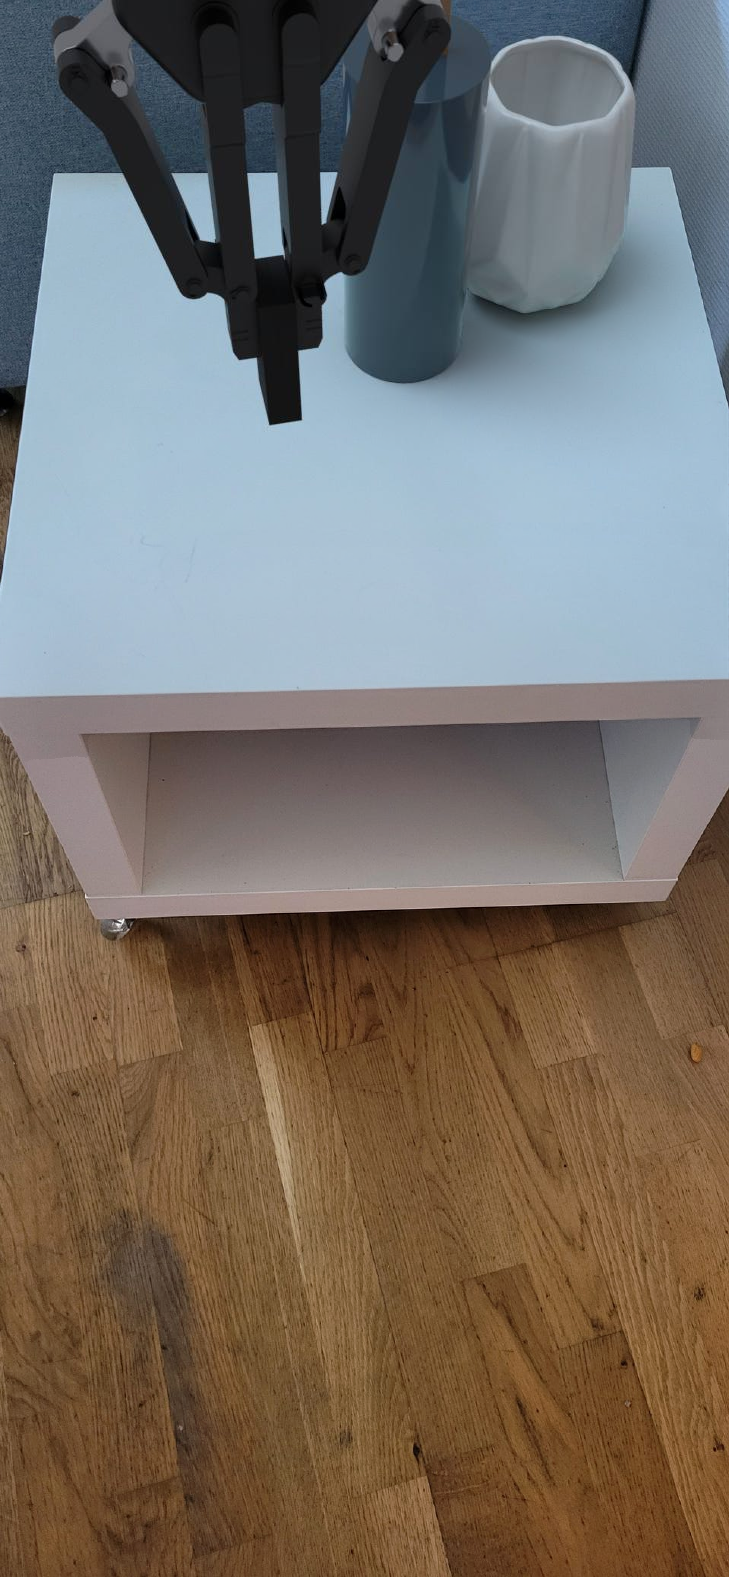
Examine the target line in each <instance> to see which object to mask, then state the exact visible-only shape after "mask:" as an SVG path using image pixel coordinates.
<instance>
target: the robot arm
mask: <svg viewBox="0 0 729 1577" xmlns="http://www.w3.org/2000/svg"><path fill="white" fill-rule="evenodd" d="M366 19H368V21H367V28H368V32H369V35H370V38H371V40H370V42H369V46H368V49H367V52H366V56H365V60H364V64H363V68H362V72H361V76H360V80H359V85H358V89H357V93H356V97H355V101H354V105H353V110H352V114H351V118H350V122H349V126H348V130H347V135H346V139H345V143H344V147H343V146H342V152H341V156H340V160H339V164H338V168H337V173H336V177H335V181H334V186H333V190H332V193H331V198H330V202H329V206H328V210H327V215H326V219H325V222H324V223H323V222H322V221H323V216H322V185H321V184H322V183H321V154H320V134H321V133H322V100H321V99H322V98H321V95H322V94H321V87H322V86H323V85H324V84H325V83H326V81H328V79H329V78H330V76H331V75H332V73H333V72H334V70H335V68H336V67H337V65H338V64H339V62H340V61H341V60H342V56H343V55H344V53H345V51H346V50H347V48H348V47H349V45H350V44H351V42H352V41H353V39H354V38H355V36H356V34H357V33H358V31H359V30H360V28H361V27H362V25H363V24H364V22H365V20H366ZM50 35H51V41H52V47H53V48H52V49H53V56H54V61H55V68H56V74H57V79H58V85H59V89H60V90H61V92H62V93H63V94H64V96H65V97H66V98H67V99H68V100H69V101H71V103H72V104H73V105H74V106H75V107H76V108H77V109H78V110H79V111H80V112H82V114H83V115H85V116H86V118H87V119H88V120H90V121H91V122H92V123H93V125H95V127H96V128H98V130H100V131H101V132H102V134H103V136H104V138H105V140H106V142H107V144H108V146H109V148H110V151H111V152H112V155H113V157H114V158H115V161H116V164H117V165H118V167H119V169H120V171H121V173H122V175H123V177H124V179H125V182H126V184H127V186H128V188H129V190H130V192H131V194H132V196H133V198H134V200H135V202H136V205H137V207H138V208H139V211H140V212H141V215H142V218H143V219H144V221H145V223H146V225H147V227H148V230H149V231H150V234H151V235H152V237H153V239H154V243H155V244H156V246H157V248H158V250H159V251H160V254H161V257H162V259H163V260H164V262H165V264H166V267H167V268H168V271H169V273H170V275H171V277H172V280H173V281H174V283H175V285H176V287H177V289H178V291H179V293H180V294H181V295H182V296H183V297H184V298H186V299H188V300H200V299H202V298H203V297H206V295H207V294H212V295H216V296H218V297H220V298H222V299H223V301H224V302H223V303H224V309H225V318H226V325H227V326H226V328H227V331H228V336H229V340H230V345H231V349H232V353H233V354H234V356H235V357H236V359H237V360H238V361H244V360H251V359H256V366H257V377H258V382H259V388H260V393H261V396H262V401H263V405H264V410H265V413H266V417H267V422H268V426H276V425H282V424H287V423H288V424H289V423H294V422H302V421H303V409H302V393H301V392H302V391H301V390H302V389H301V375H300V374H301V372H300V356H299V351H306V350H307V351H308V350H313V349H319V347H320V345H321V343H322V340H323V338H324V329H323V305H325V303H326V301H327V299H328V293H327V289H326V285H325V283H326V282H327V281H328V280H329V279H330V278H332V277H333V276H335V275H337V274H340V273H342V274H343V276H344V275H348V276H353V275H357V274H360V273H361V272H363V271H364V270H365V269H366V267H367V265H368V262H369V259H370V256H371V252H372V249H373V245H374V242H375V238H376V235H377V231H378V228H379V224H380V221H381V217H382V214H383V210H384V207H385V203H386V200H387V196H388V193H389V189H390V186H391V182H392V179H393V175H394V172H395V168H396V165H397V161H398V158H399V154H400V151H401V147H402V144H403V140H404V137H405V133H406V130H407V126H408V123H409V119H410V116H411V112H412V109H413V105H414V102H415V99H416V95H417V92H418V90H419V88H420V87H421V85H422V84H423V82H424V80H425V79H426V77H427V76H428V74H429V73H430V71H431V70H432V68H433V67H434V65H435V64H436V62H437V61H438V59H439V58H440V56H441V55H442V53H443V52H444V50H445V49H446V47H447V46H448V44H449V41H450V39H451V28H450V26H449V23H448V20H447V18H446V15H445V12H444V10H443V7H442V5H441V2H440V0H102V1H101V2H100V3H98V4H97V5H96V6H95V7H94V8H93V9H92V10H91V11H89V13H88V14H86V16H84V17H83V18H82V19H81V18H79V17H77V16H73V15H62V16H60V17H59V18H57V19H56V20H54V22H53V24H52V26H51V32H50ZM133 41H135V43H137V44H138V46H139V47H140V48H141V49H142V50H143V51H144V52H145V53H146V54H147V55H148V56H149V57H150V58H151V59H152V60H153V61H154V62H155V63H156V64H157V65H158V66H159V67H160V68H161V69H162V70H163V72H165V73H166V75H167V76H168V77H169V78H170V79H171V80H172V81H173V82H174V83H175V84H176V85H177V86H178V87H179V88H180V89H181V90H182V91H183V92H184V93H185V94H186V95H187V96H188V97H189V98H191V99H192V100H194V101H195V102H197V103H198V108H199V115H200V121H201V122H200V123H201V130H202V140H203V146H204V148H203V149H204V155H205V163H206V172H207V180H208V188H209V197H210V203H211V212H212V221H213V229H214V236H215V238H214V242H213V241H208V240H202V239H201V237H200V235H199V233H198V230H197V228H196V225H195V224H194V221H193V219H192V216H191V214H190V212H189V210H188V208H187V205H186V203H185V201H184V199H183V196H182V194H181V192H180V189H179V187H178V185H177V183H176V180H175V177H174V175H173V173H172V171H171V169H170V166H169V164H168V162H167V160H166V158H165V155H164V153H163V151H162V148H161V146H160V143H159V141H158V139H157V137H156V135H155V132H154V130H153V128H152V125H151V123H150V120H149V118H148V116H147V114H146V112H145V109H144V107H143V104H142V102H141V99H140V97H139V95H138V93H137V91H136V88H135V87H134V84H135V82H136V78H137V74H136V68H135V63H134V58H133V52H132V50H131V48H130V46H131V44H132V42H133ZM261 103H262V104H263V103H265V104H271V105H272V114H273V115H272V116H273V130H274V143H275V144H274V145H275V146H274V147H275V161H276V174H277V175H276V176H277V188H278V205H279V218H280V233H281V234H280V235H281V245H282V248H283V252H284V254H279V255H272V256H265V257H258V258H257V257H256V256H255V245H254V233H253V232H254V231H253V222H252V208H251V200H250V199H251V198H250V188H249V187H250V186H249V177H248V165H247V153H246V152H247V151H246V144H247V133H246V121H245V111H244V110H245V109H247V108H250V107H252V106H255V105H258V104H261Z"/></svg>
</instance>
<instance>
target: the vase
mask: <svg viewBox="0 0 729 1577" xmlns="http://www.w3.org/2000/svg"><path fill="white" fill-rule="evenodd" d="M635 122H636V97H635V91H634V88H633V85H632V83H631V80H630V78H629V76H628V74H627V73H626V72H625V71H624V68H623V66H622V64H621V63H620V61H619V60H618V59H617V58H616V57H615V56H614V55H612V54H611V53H610V52H608V51H606V50H604V49H602V48H600V47H598V46H597V45H594V44H592V43H587V42H584V41H583V40H580V39H577V38H573V37H569V36H563V35H543V36H538V37H535V38H526V39H523V40H522V39H521V40H520V41H518V42H514V43H511V44H509V45H507V46H505V47H503V48H502V49H500V50H499V51H498V52H497V53H496V55H494V58H492V64H491V73H490V82H489V91H488V100H487V109H486V118H485V127H484V136H483V145H482V154H481V162H480V171H479V180H478V189H477V198H476V207H475V216H474V225H473V234H472V243H471V252H470V261H469V270H468V279H467V288H468V290H469V292H470V293H472V294H473V295H475V296H478V297H480V298H482V299H484V300H487V301H489V302H491V303H495V305H499V306H503V307H504V308H506V309H509V310H512V311H515V312H518V313H521V314H529V313H536V312H540V311H541V312H542V311H544V310H553V309H556V308H559V307H564V306H568V305H573V304H576V303H579V302H581V301H582V300H584V298H586V296H588V294H589V293H591V292H592V291H593V289H594V288H596V286H597V283H598V282H600V281H601V280H603V278H604V277H605V275H606V273H607V271H608V268H609V267H610V265H611V263H612V261H613V259H614V256H615V255H616V254H617V252H618V251H619V250H620V248H621V247H622V244H623V243H624V240H625V236H626V227H627V221H628V214H629V204H630V194H631V193H630V192H631V181H632V180H631V179H632V166H633V165H632V163H633V153H634V152H633V151H634V139H635V124H636V123H635Z"/></svg>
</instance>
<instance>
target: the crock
mask: <svg viewBox="0 0 729 1577" xmlns="http://www.w3.org/2000/svg"><path fill="white" fill-rule="evenodd" d="M452 1H453V0H440V2H441V5H442V7H443V10H444V12H445V15H446V18H447V20H448V23H449V26H450V28H451V39H450V41H449V44H448V46H447V47H446V49H445V50H444V52H443V53H442V55H441V56H440V58H439V59H438V61H437V62H436V64H435V65H434V67H433V68H432V70H431V71H430V73H429V74H428V76H427V77H426V79H425V80H424V82H423V84H422V85H421V87H420V88H419V90H418V92H417V95H416V99H415V102H414V105H413V109H412V112H411V116H410V119H409V123H408V126H407V130H406V133H405V137H404V140H403V144H402V147H401V151H400V154H399V158H398V161H397V165H396V168H395V172H394V175H393V179H392V182H391V186H390V189H389V193H388V196H387V200H386V203H385V207H384V210H383V214H382V217H381V221H380V224H379V228H378V231H377V235H376V238H375V242H374V245H373V249H372V252H371V256H370V259H369V262H368V265H367V267H366V269H365V270H364V271H363V272H361V273H360V274H357V275H353V276H348V275H344V274H343V341H344V347H345V350H346V352H347V354H348V357H349V358H350V359H351V360H352V362H353V363H354V364H355V365H356V366H357V367H358V368H359V369H360V370H362V371H363V372H364V373H366V374H368V375H369V376H371V377H374V378H377V379H379V380H382V381H386V382H391V383H401V384H402V383H403V384H405V383H407V384H408V383H416V382H421V381H425V380H429V379H430V378H433V377H435V376H437V375H439V374H441V373H442V372H443V371H445V370H446V369H447V368H448V367H449V366H450V365H452V363H453V362H454V360H455V359H456V358H457V355H458V353H459V351H460V347H461V341H462V332H463V323H464V313H465V305H466V298H467V297H466V296H467V288H468V287H467V279H468V270H469V261H470V252H471V243H472V234H473V225H474V216H475V207H476V198H477V189H478V180H479V171H480V162H481V154H482V145H483V136H484V127H485V118H486V109H487V100H488V91H489V82H490V73H491V64H492V61H493V53H492V49H491V46H490V44H489V41H488V40H487V38H486V36H485V35H484V34H483V33H482V32H481V30H479V29H478V28H477V27H476V26H475V25H473V24H472V23H470V22H469V21H467V20H466V19H464V18H462V17H460V16H458V15H455V14H452V13H451V12H452ZM367 21H368V18H367V19H366V20H365V22H364V24H363V25H362V27H361V28H360V30H359V31H358V33H357V34H356V36H355V38H354V39H353V41H352V42H351V44H350V45H349V47H348V48H347V50H346V51H345V53H344V55H343V56H342V58H341V75H342V76H341V81H342V82H341V85H342V86H341V87H342V88H341V91H342V92H341V94H342V95H341V96H342V98H341V99H342V102H341V104H342V148H343V147H344V143H345V139H346V135H347V130H348V126H349V122H350V118H351V114H352V110H353V105H354V101H355V97H356V93H357V89H358V85H359V80H360V76H361V72H362V68H363V64H364V60H365V56H366V52H367V49H368V46H369V42H370V40H371V38H370V35H369V32H368V28H367Z"/></svg>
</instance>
